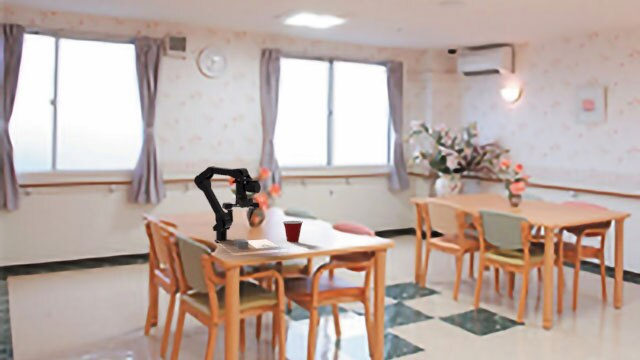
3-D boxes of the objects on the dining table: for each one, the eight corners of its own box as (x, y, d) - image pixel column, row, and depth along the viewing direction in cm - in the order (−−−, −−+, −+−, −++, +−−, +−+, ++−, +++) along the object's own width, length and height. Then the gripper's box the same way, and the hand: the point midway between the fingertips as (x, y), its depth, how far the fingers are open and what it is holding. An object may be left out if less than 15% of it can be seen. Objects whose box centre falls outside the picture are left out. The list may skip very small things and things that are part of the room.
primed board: (245, 242, 312) (245, 240, 312) (266, 241, 317) (266, 239, 317) (256, 250, 294) (256, 248, 294) (279, 249, 299) (279, 246, 299)
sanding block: (234, 247, 301) (234, 239, 300) (243, 247, 303) (243, 238, 302) (238, 251, 293) (238, 242, 293) (248, 250, 295) (248, 241, 295)
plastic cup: (297, 240, 322) (297, 218, 321) (306, 244, 313) (306, 221, 312) (279, 241, 317) (279, 219, 316) (287, 245, 308) (288, 223, 306)
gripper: (227, 194, 296) (227, 225, 297) (263, 193, 303) (262, 223, 305) (222, 191, 306) (221, 221, 307) (256, 190, 313) (256, 219, 315)
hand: (240, 221), depth 308 cm, fingers open, 9 cm apart
